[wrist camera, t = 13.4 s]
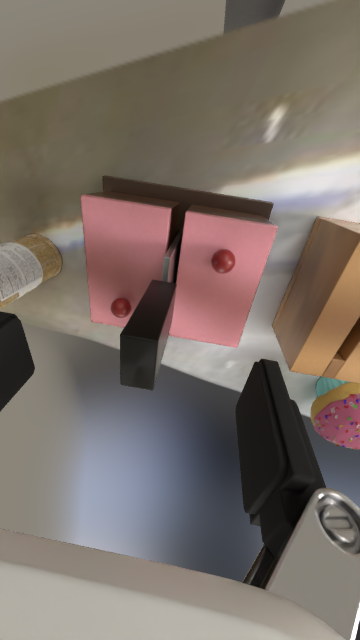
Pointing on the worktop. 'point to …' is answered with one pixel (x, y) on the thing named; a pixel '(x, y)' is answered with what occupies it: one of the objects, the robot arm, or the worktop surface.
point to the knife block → (324, 304)
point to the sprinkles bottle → (26, 266)
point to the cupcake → (337, 412)
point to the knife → (150, 326)
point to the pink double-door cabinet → (195, 255)
